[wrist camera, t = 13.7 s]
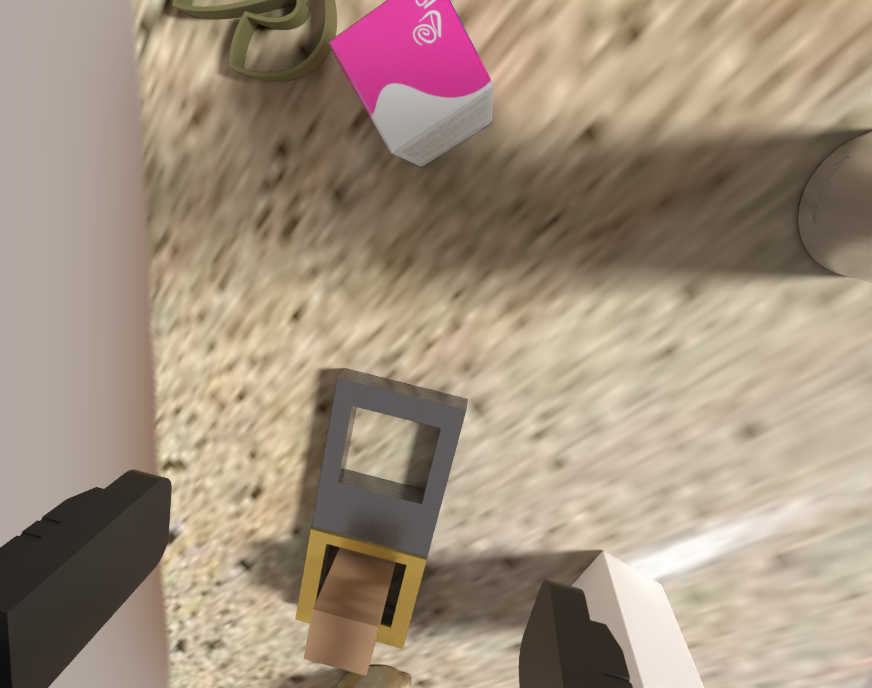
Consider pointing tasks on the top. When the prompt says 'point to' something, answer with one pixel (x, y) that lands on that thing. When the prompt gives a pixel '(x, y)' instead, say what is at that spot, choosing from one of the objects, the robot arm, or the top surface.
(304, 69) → the cookie cutter
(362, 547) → the gray slotted board
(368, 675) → the chocolate bunny
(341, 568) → the block
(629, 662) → the milk
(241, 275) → the top surface
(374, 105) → the supplement box
